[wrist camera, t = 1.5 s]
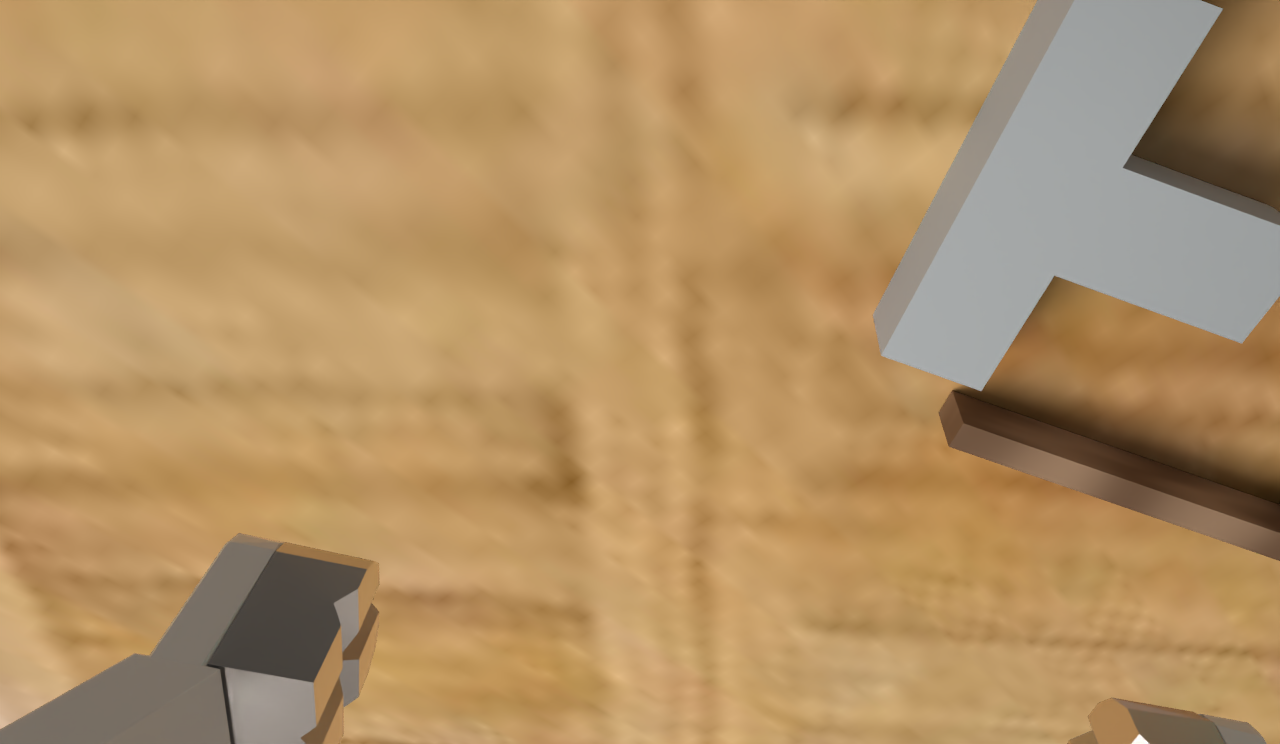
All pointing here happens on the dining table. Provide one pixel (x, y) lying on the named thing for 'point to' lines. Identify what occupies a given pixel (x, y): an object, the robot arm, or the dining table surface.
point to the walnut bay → (1111, 474)
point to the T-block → (1077, 198)
